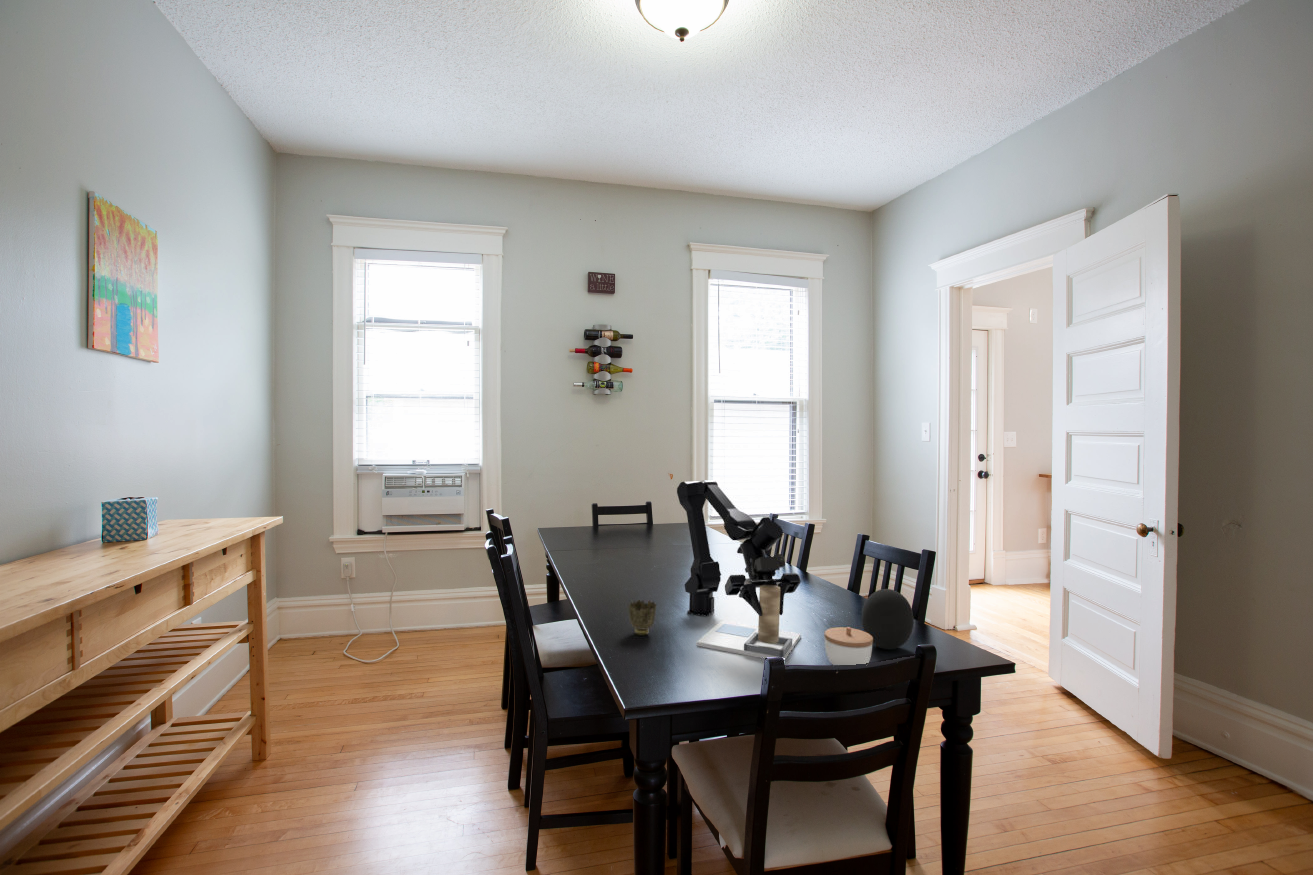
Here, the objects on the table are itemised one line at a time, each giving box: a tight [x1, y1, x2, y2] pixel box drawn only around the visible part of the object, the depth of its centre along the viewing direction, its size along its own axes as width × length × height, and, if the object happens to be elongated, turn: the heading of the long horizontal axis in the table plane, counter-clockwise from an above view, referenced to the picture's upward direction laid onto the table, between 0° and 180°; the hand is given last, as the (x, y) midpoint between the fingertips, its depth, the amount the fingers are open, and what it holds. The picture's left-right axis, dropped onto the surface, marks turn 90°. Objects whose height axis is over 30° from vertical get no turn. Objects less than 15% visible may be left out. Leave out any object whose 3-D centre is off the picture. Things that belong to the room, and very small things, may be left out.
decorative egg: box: [861, 588, 915, 650], centre depth 153 cm, size 12×12×15 cm
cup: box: [627, 599, 657, 636], centre depth 160 cm, size 8×7×8 cm
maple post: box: [757, 585, 780, 643], centre depth 149 cm, size 5×5×13 cm
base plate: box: [696, 620, 802, 660], centre depth 156 cm, size 22×19×2 cm
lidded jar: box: [824, 626, 873, 666], centre depth 140 cm, size 11×11×9 cm
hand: (771, 614), depth 148 cm, fingers closed on maple post, 5 cm apart
